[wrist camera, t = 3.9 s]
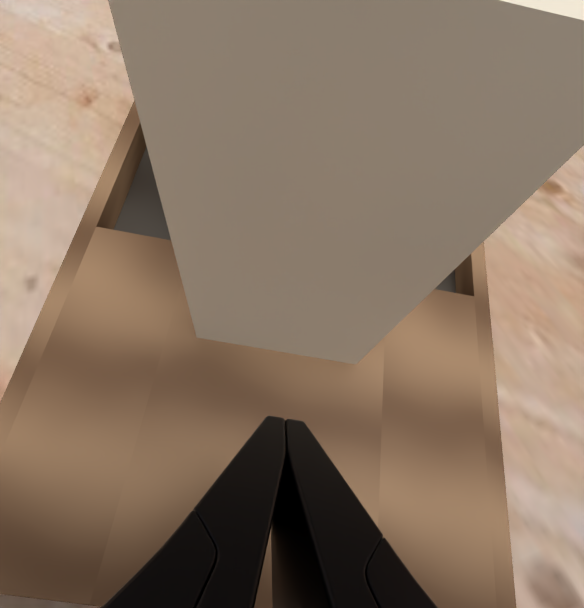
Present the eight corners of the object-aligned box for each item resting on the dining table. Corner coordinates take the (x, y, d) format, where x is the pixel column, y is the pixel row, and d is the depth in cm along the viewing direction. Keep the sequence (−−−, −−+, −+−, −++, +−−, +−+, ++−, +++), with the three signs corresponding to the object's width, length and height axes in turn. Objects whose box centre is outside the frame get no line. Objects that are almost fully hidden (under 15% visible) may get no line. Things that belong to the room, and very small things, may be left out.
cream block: (356, 364, 17) (687, 44, 5) (196, 337, 17) (82, -99, 4) (364, 233, 20) (580, -180, 8) (229, 207, 20) (220, -278, 7)
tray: (487, 637, 15) (564, 685, 12) (-41, 570, 14) (-134, 601, 11) (456, 141, 27) (491, 89, 23) (162, 80, 26) (150, 14, 22)
